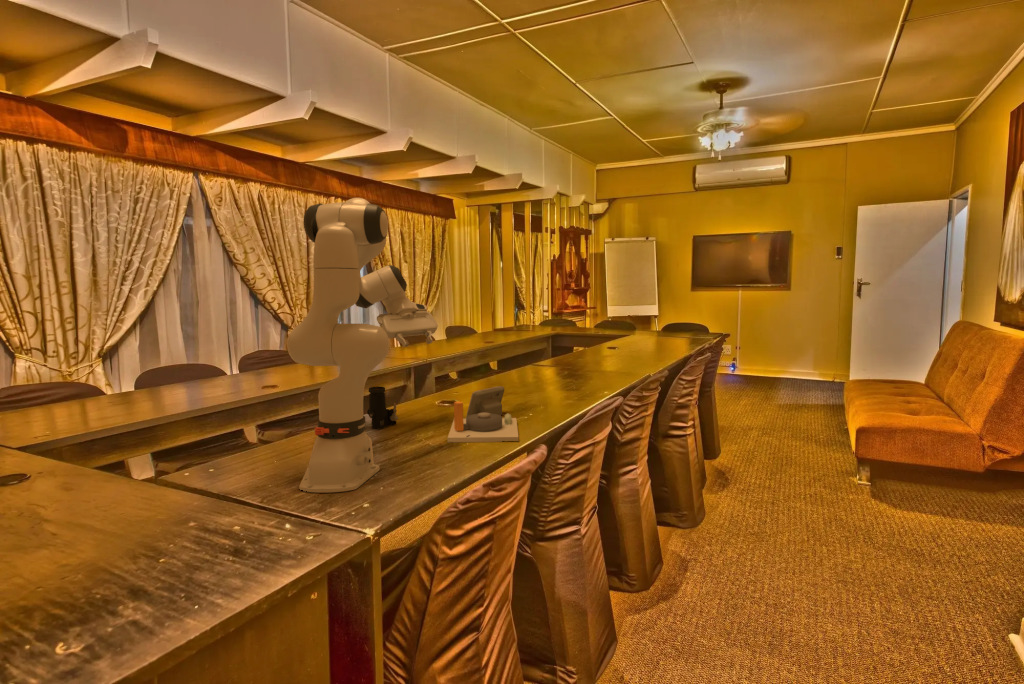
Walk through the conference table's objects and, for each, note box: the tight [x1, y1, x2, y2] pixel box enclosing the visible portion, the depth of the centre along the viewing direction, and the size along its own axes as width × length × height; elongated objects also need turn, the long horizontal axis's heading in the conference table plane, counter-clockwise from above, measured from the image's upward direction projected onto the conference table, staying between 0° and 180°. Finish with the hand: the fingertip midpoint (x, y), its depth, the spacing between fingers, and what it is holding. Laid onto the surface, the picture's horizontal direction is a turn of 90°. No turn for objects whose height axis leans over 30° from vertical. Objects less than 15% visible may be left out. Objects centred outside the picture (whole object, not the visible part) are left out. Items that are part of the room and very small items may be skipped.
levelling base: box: [447, 412, 519, 443], centre depth 181 cm, size 24×22×4 cm
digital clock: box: [466, 385, 505, 417], centre depth 202 cm, size 16×9×11 cm, turn 127°
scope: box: [367, 386, 399, 430], centre depth 187 cm, size 8×14×10 cm
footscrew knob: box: [453, 401, 503, 431], centre depth 180 cm, size 16×12×9 cm
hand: (418, 344), depth 182 cm, fingers open, 8 cm apart
